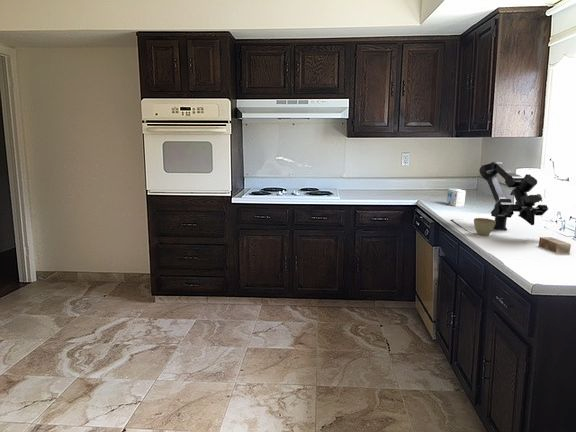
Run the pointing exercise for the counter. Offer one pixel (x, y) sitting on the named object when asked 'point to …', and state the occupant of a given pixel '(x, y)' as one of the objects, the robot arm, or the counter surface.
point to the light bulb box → (456, 197)
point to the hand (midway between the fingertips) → (533, 224)
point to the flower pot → (484, 225)
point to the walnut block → (554, 245)
